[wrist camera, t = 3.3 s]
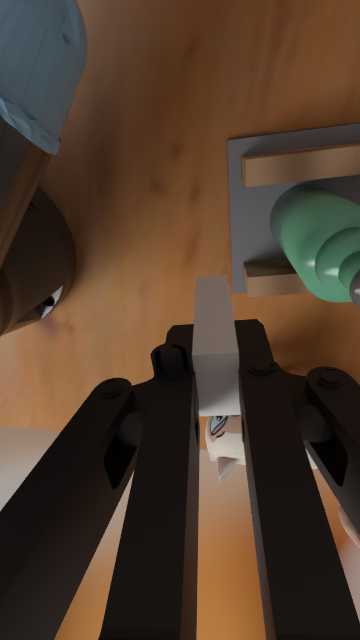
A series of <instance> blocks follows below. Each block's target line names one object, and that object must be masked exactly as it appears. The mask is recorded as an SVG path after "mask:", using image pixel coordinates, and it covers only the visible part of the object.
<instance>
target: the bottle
mask: <svg viewBox="0 0 360 640" xmlns="http://www.w3.org/2000/svg"><path fill="white" fill-rule="evenodd" d="M269 222H270V230H271V233H272V235H273V237H274V238H275V240H276V241H277V243H278V244H279V246H280V247H281V249H282V250H283V252H284V253H285V255H286V257H287V258H288V260H289V261H290V263H291V264H292V266H293V267H294V269H295V270H296V272H297V273H298V275H299V277H300V278H301V280H302V281H303V283H304V284H305V286H306V287H307V289H308V290H309V291H310V292H311V293H312V294H314V295H315V296H317V297H318V298H320V299H323V300H326V301H330V302H354V303H355V304H356V305H357V306H358V307H359V308H360V205H358V204H355V203H353V202H351V201H349V200H347V199H345V198H343V197H341V196H339V195H337V194H335V193H333V192H331V191H329V190H327V189H325V188H323V187H320V186H318V185H314V184H301V185H298V186H295V187H292V188H290V189H289V190H287V191H286V192H284V193H283V194H282V195H281V196H280V197H279V198H278V200H277V201H276V202H275V204H274V206H273V208H272V211H271V214H270V221H269Z"/></svg>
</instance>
